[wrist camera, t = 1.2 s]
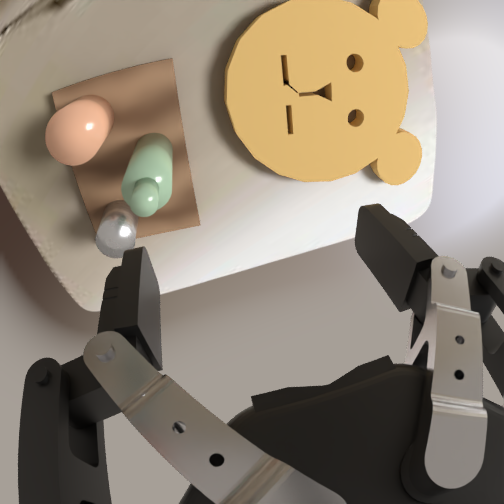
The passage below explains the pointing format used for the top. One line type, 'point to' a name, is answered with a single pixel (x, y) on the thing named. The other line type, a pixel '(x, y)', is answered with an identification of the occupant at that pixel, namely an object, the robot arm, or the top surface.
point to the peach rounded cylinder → (79, 129)
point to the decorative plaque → (326, 88)
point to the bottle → (149, 175)
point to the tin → (117, 229)
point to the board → (127, 135)
